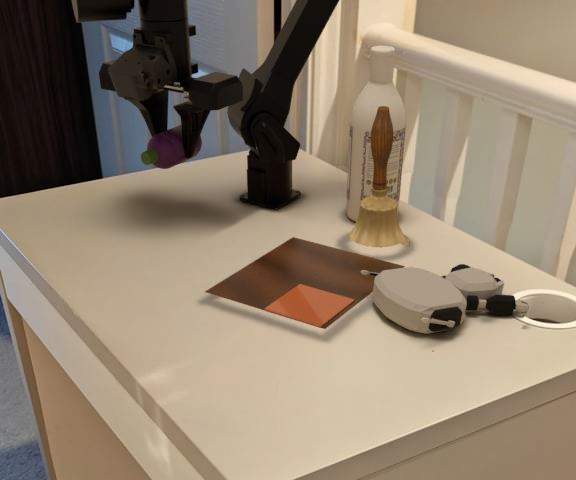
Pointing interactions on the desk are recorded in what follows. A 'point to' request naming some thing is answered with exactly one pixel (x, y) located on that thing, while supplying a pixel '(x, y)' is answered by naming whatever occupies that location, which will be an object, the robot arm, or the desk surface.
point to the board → (302, 275)
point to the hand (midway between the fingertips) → (175, 154)
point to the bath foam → (362, 119)
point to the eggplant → (167, 149)
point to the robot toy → (439, 297)
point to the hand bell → (379, 193)
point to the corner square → (310, 305)
